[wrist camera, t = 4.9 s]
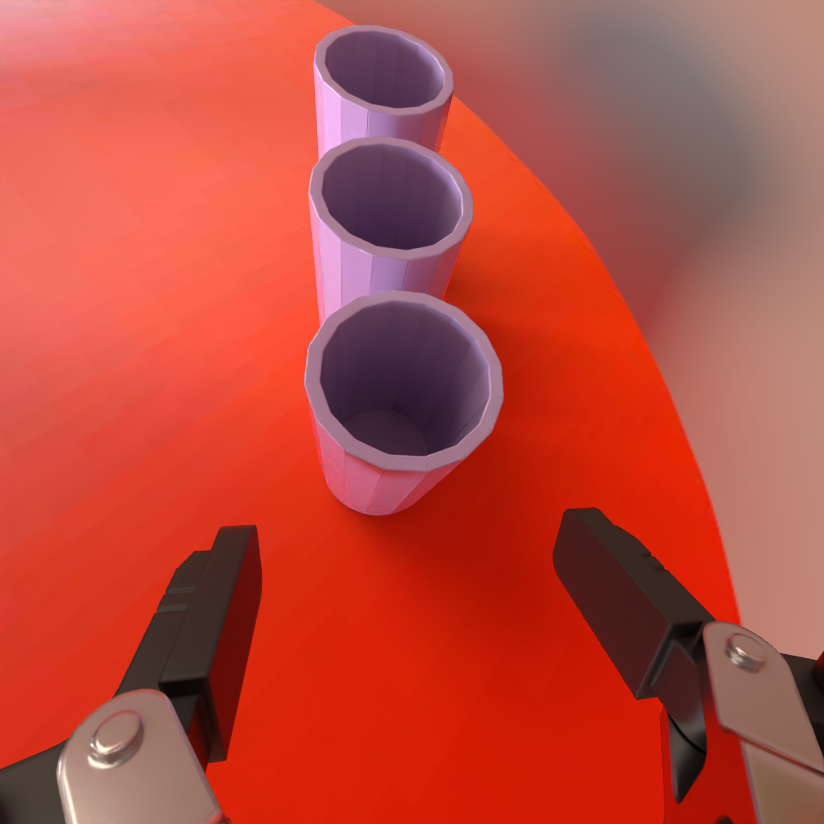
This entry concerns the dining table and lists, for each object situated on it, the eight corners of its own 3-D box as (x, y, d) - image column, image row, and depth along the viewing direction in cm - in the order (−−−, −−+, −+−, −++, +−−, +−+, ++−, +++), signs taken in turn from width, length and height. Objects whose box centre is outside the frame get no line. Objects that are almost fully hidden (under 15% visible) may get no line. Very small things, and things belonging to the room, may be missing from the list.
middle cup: (300, 332, 23) (273, 174, 14) (376, 282, 25) (397, 116, 16) (369, 405, 22) (390, 288, 13) (442, 346, 24) (504, 210, 15)
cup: (305, 235, 25) (284, 46, 16) (373, 197, 28) (389, 12, 18) (366, 296, 24) (382, 133, 15) (432, 252, 27) (480, 86, 17)
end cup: (297, 453, 20) (260, 359, 11) (382, 386, 22) (410, 260, 13) (374, 541, 19) (405, 517, 10) (455, 462, 22) (541, 384, 12)
